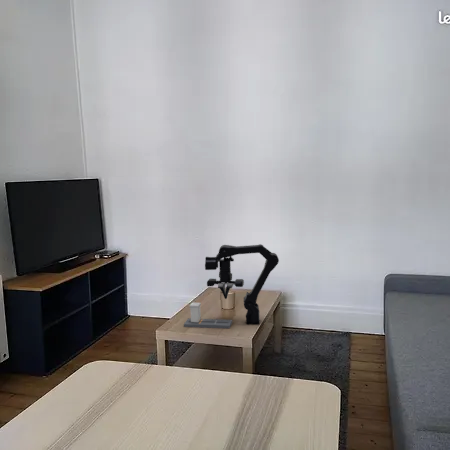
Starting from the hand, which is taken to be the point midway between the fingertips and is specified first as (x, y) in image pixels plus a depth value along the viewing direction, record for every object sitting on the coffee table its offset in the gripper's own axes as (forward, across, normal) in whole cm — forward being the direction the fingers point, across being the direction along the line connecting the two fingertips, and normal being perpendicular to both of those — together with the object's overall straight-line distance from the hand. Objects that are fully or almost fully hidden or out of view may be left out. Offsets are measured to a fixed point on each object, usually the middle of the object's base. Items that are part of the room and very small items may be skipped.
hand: (225, 298), depth 241 cm
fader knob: (+11, +16, +4) cm, 20 cm away
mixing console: (+13, +9, +4) cm, 16 cm away
